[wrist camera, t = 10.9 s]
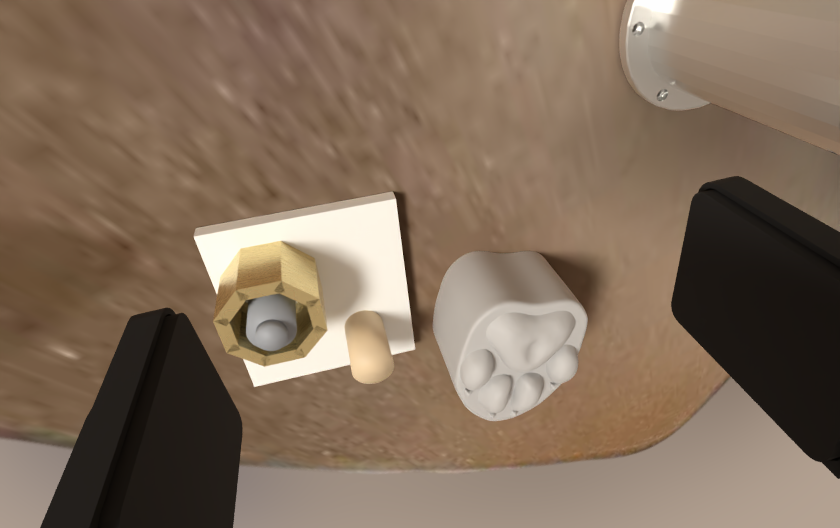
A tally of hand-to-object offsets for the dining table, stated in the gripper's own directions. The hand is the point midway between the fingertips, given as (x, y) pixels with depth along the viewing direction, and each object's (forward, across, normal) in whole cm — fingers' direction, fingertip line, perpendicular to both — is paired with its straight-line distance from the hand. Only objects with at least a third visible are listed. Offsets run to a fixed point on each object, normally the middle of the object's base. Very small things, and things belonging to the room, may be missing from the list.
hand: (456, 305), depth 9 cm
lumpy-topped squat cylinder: (+27, -8, +25) cm, 37 cm away
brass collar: (+25, +9, +15) cm, 31 cm away
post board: (+26, +6, +18) cm, 32 cm away
